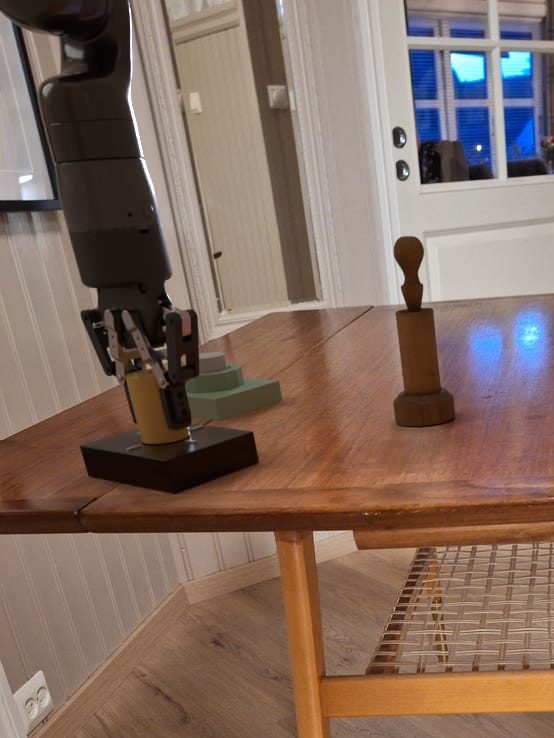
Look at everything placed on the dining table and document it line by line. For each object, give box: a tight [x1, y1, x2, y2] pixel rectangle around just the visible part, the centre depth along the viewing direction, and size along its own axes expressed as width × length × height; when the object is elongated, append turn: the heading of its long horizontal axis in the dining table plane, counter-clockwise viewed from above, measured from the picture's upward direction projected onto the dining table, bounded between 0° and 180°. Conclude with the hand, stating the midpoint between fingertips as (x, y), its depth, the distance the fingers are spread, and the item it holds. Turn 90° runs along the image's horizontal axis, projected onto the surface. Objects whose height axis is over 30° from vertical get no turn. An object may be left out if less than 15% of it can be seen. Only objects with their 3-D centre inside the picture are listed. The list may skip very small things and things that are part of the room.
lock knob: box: [125, 367, 190, 444], centre depth 80 cm, size 4×4×6 cm
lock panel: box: [79, 422, 260, 494], centre depth 82 cm, size 13×10×3 cm
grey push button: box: [199, 351, 228, 374], centre depth 104 cm, size 4×4×2 cm
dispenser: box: [185, 363, 283, 422], centre depth 105 cm, size 12×10×4 cm
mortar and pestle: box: [392, 235, 456, 427], centre depth 89 cm, size 7×6×18 cm
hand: (163, 424), depth 81 cm, fingers closed on lock knob, 4 cm apart
